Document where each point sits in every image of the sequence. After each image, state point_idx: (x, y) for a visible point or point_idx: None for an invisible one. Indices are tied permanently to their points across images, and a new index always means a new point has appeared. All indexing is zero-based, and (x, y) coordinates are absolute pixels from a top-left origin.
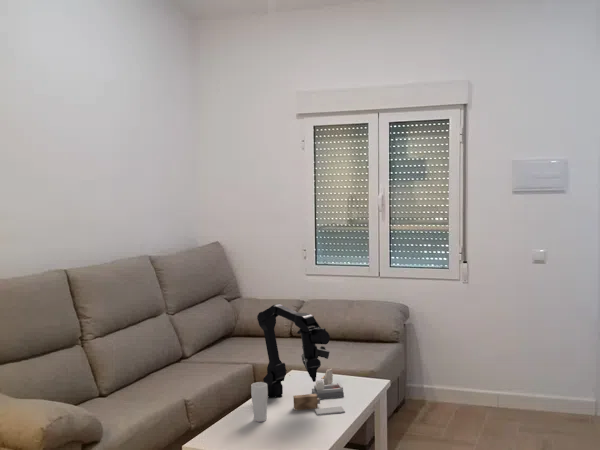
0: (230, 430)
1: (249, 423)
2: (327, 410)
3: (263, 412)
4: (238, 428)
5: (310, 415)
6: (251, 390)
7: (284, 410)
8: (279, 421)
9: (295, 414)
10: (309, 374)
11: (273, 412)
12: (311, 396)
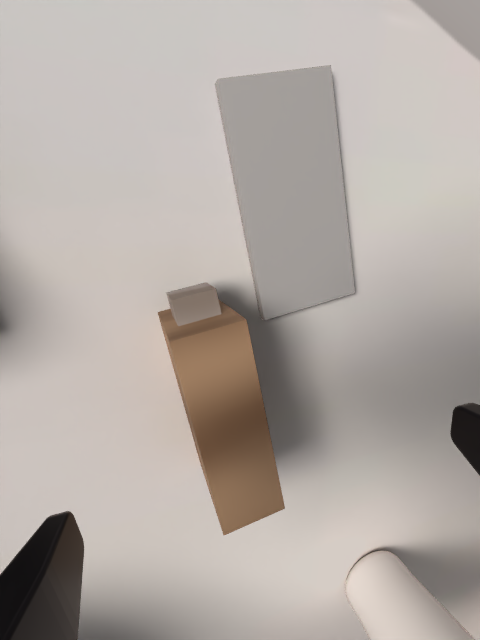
0: None
1: None
2: (301, 218)
3: (433, 596)
4: None
5: (344, 336)
6: None
7: None
8: (399, 484)
9: (318, 428)
10: (76, 624)
11: (276, 553)
12: (257, 376)
